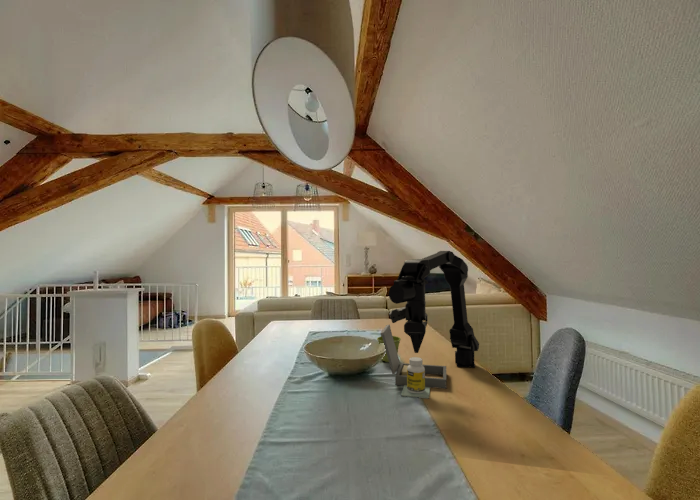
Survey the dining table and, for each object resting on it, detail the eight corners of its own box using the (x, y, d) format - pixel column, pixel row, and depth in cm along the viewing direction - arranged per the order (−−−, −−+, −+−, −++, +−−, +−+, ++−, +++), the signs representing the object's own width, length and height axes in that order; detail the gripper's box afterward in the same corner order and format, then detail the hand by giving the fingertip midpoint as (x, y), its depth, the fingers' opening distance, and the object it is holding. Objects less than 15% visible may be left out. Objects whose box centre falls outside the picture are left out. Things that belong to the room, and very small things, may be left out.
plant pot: (402, 363, 140) (402, 341, 140) (378, 363, 140) (377, 341, 140) (399, 356, 150) (399, 335, 150) (376, 356, 150) (376, 335, 150)
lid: (389, 324, 132) (386, 325, 133) (383, 332, 120) (380, 333, 120) (400, 362, 131) (396, 362, 132) (395, 373, 119) (391, 374, 119)
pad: (429, 388, 115) (429, 387, 115) (428, 398, 107) (428, 397, 107) (404, 386, 117) (404, 385, 117) (401, 396, 109) (401, 394, 109)
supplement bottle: (404, 392, 111) (404, 360, 111) (410, 386, 115) (410, 355, 115) (422, 395, 108) (421, 362, 108) (427, 389, 113) (426, 357, 113)
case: (446, 374, 128) (446, 364, 128) (446, 388, 114) (446, 378, 114) (400, 370, 132) (400, 361, 132) (395, 384, 118) (395, 374, 118)
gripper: (394, 295, 126) (395, 340, 127) (386, 304, 108) (387, 356, 108) (427, 295, 124) (428, 341, 124) (424, 304, 105) (426, 358, 106)
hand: (417, 348), depth 115 cm, fingers open, 9 cm apart
